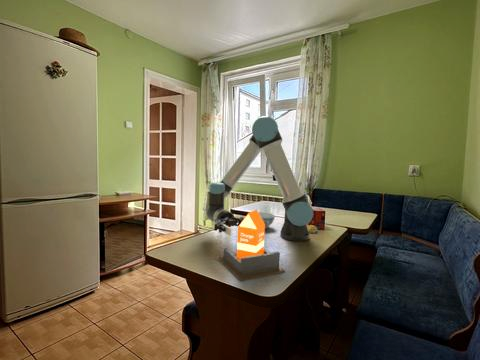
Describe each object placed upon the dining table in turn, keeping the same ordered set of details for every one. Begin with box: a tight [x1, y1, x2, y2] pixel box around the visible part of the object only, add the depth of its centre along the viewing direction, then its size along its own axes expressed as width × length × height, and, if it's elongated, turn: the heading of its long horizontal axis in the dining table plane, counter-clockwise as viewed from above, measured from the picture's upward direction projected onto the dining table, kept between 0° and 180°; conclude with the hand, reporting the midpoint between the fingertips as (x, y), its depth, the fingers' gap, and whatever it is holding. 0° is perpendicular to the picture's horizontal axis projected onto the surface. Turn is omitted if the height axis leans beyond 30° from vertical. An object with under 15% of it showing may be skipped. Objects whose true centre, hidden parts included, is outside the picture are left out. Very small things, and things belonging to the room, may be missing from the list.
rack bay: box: [217, 247, 286, 282], centre depth 96 cm, size 20×18×7 cm
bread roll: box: [307, 224, 318, 234], centre depth 148 cm, size 8×9×4 cm
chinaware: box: [258, 211, 276, 229], centre depth 152 cm, size 15×15×8 cm
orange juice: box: [236, 209, 266, 260], centre depth 95 cm, size 8×9×20 cm
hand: (245, 230), depth 98 cm, fingers open, 13 cm apart
